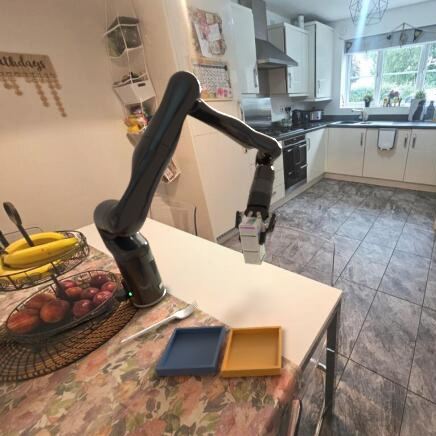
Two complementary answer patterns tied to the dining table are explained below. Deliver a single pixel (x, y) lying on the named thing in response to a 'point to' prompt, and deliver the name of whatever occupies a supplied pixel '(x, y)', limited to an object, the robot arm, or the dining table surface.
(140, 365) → the dining table surface
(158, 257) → the dining table surface
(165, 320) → the fork
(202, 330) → the blue tray
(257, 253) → the syrup box
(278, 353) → the honey tray
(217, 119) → the robot arm
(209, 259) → the dining table surface
